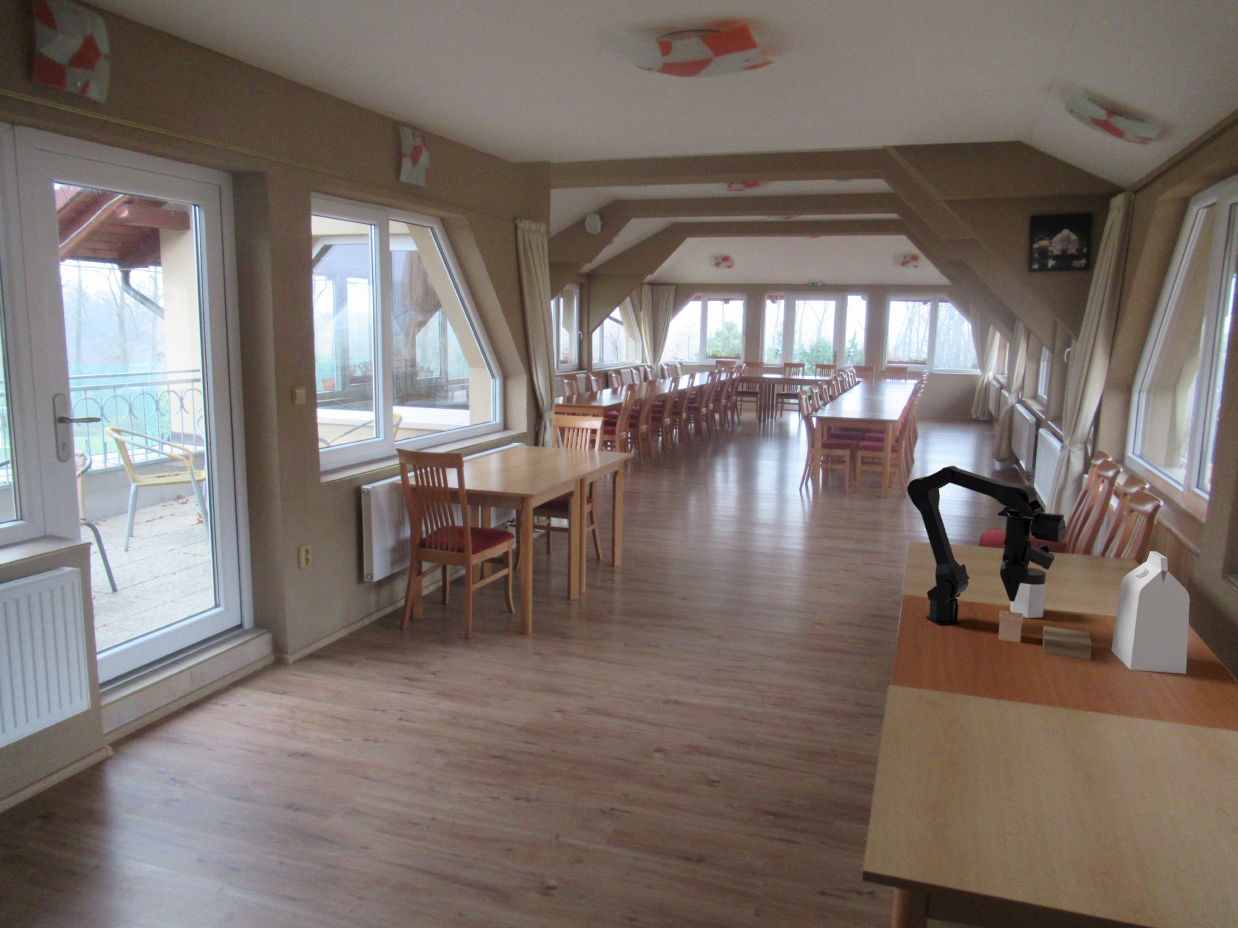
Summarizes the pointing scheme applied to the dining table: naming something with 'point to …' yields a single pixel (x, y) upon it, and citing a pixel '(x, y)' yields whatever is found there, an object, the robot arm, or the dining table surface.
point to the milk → (1152, 619)
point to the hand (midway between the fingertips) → (1012, 595)
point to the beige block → (1066, 642)
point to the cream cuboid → (1010, 626)
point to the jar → (1030, 595)
